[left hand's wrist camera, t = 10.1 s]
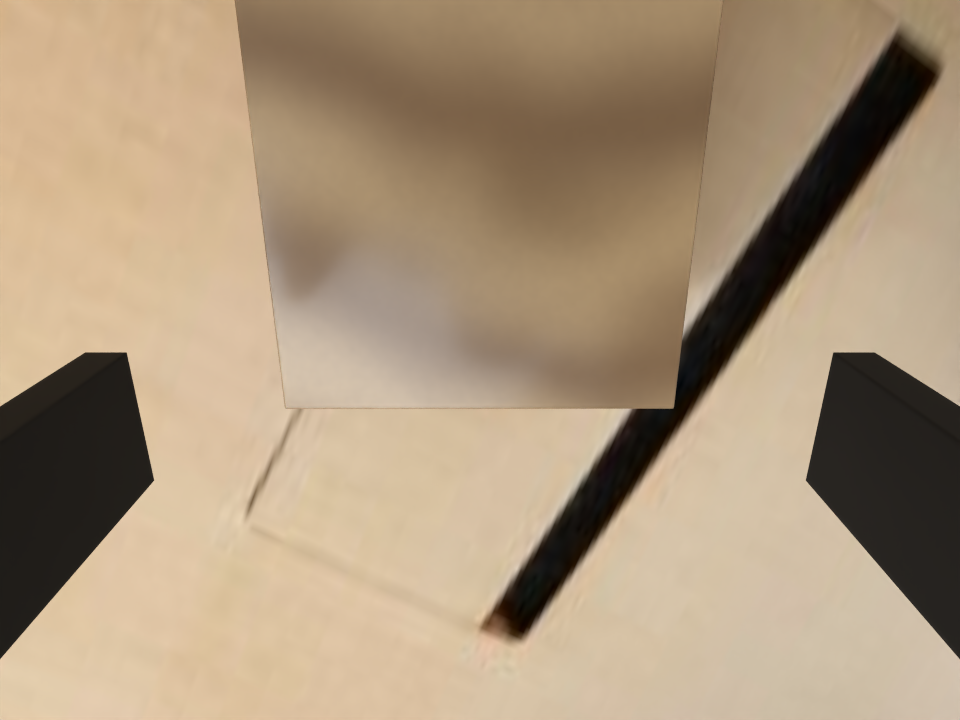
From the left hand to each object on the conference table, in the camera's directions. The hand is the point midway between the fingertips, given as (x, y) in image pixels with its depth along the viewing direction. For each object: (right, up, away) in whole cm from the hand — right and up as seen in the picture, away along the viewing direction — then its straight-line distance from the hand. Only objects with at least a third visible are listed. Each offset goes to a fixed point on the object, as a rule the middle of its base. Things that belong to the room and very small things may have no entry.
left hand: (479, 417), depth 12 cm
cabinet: (0, +11, +12) cm, 17 cm away
